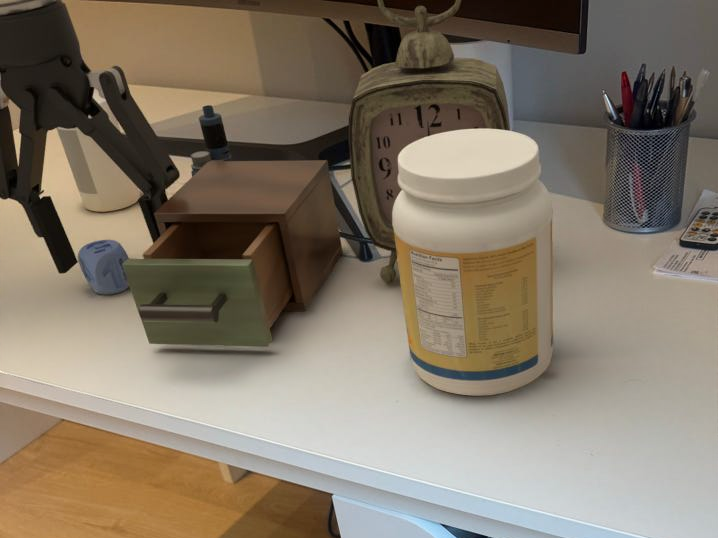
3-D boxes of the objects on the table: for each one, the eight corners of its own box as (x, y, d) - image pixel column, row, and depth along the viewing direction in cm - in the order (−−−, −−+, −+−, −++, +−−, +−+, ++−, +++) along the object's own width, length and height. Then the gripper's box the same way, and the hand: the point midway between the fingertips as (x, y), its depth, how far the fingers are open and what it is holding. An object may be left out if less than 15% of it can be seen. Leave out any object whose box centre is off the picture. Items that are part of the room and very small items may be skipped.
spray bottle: (106, 190, 114) (49, 20, 101) (152, 193, 112) (99, 21, 99) (72, 210, 109) (8, 36, 97) (119, 214, 108) (60, 37, 95)
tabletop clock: (368, 292, 89) (321, -18, 71) (377, 254, 95) (335, -40, 77) (516, 284, 88) (505, -32, 70) (514, 246, 94) (504, -52, 76)
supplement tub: (446, 323, 83) (427, 119, 71) (572, 340, 79) (575, 128, 67) (387, 389, 75) (354, 174, 63) (523, 412, 72) (516, 187, 60)
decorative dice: (102, 298, 91) (88, 259, 88) (87, 286, 94) (72, 247, 91) (139, 285, 93) (126, 246, 90) (123, 274, 95) (110, 235, 92)
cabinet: (305, 311, 87) (285, 213, 80) (182, 309, 88) (153, 213, 82) (342, 252, 96) (327, 160, 89) (231, 251, 98) (208, 161, 91)
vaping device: (252, 222, 103) (224, 104, 95) (219, 239, 100) (188, 119, 92) (236, 218, 104) (207, 102, 96) (203, 235, 101) (170, 116, 93)
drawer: (253, 369, 77) (231, 286, 72) (130, 365, 79) (100, 284, 74) (309, 284, 89) (293, 207, 83) (200, 283, 90) (178, 207, 85)
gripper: (-129, 27, 75) (-2, 286, 91) (123, 0, 71) (211, 276, 86) (-76, 8, 81) (35, 255, 96) (161, -20, 76) (238, 244, 92)
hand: (119, 265), depth 91 cm, fingers open, 11 cm apart
